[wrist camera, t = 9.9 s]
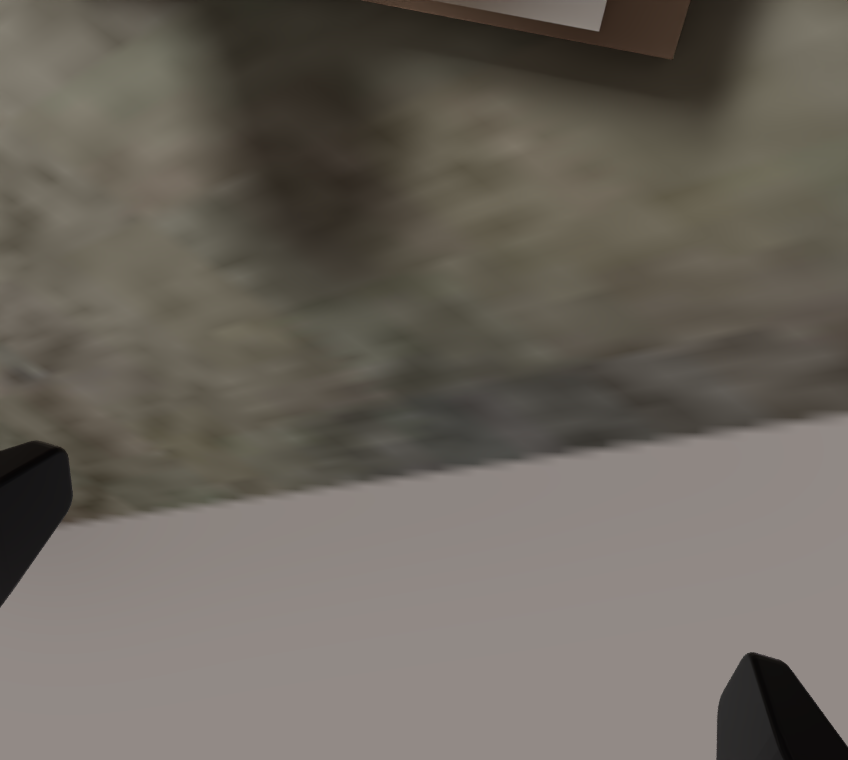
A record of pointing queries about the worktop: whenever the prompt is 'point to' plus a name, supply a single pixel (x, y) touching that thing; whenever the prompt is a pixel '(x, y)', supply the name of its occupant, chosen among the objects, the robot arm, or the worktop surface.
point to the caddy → (574, 19)
